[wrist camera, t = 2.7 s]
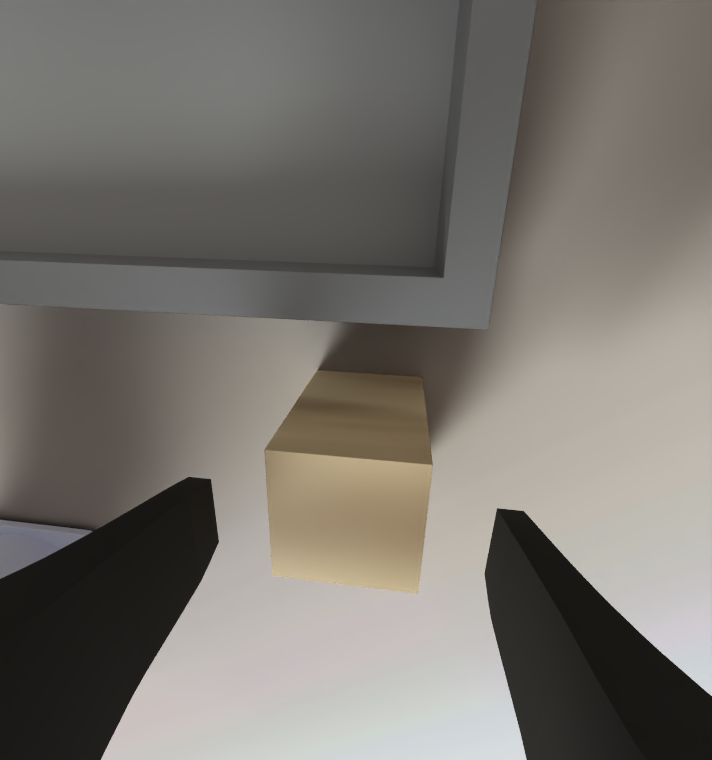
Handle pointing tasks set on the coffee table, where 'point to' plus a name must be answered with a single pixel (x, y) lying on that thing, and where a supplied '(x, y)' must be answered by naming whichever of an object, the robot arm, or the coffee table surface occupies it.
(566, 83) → the coffee table surface
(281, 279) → the tray
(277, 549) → the block
